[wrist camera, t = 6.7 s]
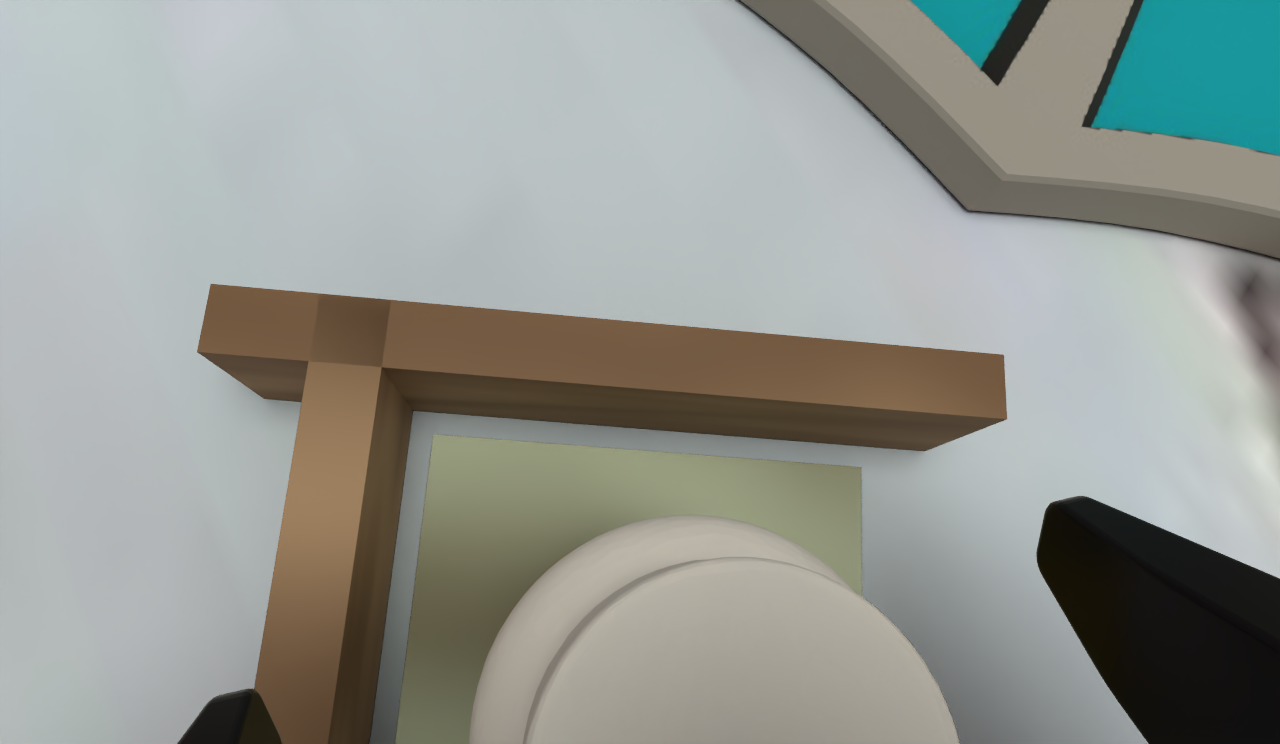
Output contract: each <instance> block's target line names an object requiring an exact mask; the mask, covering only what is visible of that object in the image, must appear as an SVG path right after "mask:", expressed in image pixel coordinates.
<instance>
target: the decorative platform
mask: <svg viewBox="0 0 1280 744" xmlns="http://www.w3.org/2000/svg"><path fill="white" fill-rule="evenodd" d="M740 1H742V2H743V3H744V4H746V5H747V6H748V7H750V8H751V9H752V10H754V11H755V12H756V13H758V14H759V15H760V16H761V17H763V18H764V19H765V20H767V21H768V22H769V23H770V24H772V25H773V26H774V27H775V28H777V29H778V30H779V31H781V32H782V33H783V34H784V35H786V36H787V37H788V38H790V39H791V40H792V41H793V42H795V43H796V44H797V45H798V46H799V47H800V48H802V49H803V50H804V51H805V52H806V53H808V54H809V55H810V56H811V57H812V58H814V59H815V60H816V61H817V62H818V63H820V64H821V65H822V66H823V67H824V68H826V69H827V70H828V71H829V72H830V73H831V74H832V75H833V76H835V77H836V78H837V79H838V80H839V81H840V82H841V83H842V84H843V85H844V86H845V87H846V88H848V89H849V90H850V91H851V92H852V93H853V94H854V95H855V96H856V97H857V98H858V99H859V100H861V101H862V102H863V103H864V104H865V105H866V106H867V107H868V108H869V109H870V110H871V111H872V112H873V113H874V114H875V115H876V116H877V117H878V118H879V119H880V120H881V121H882V122H883V123H884V124H885V125H886V126H887V127H888V128H889V129H890V130H891V131H892V132H893V133H894V134H895V135H896V136H897V137H898V138H899V139H900V140H901V141H902V142H903V143H904V144H905V145H906V146H907V147H908V148H909V149H910V150H911V151H912V152H913V153H914V154H915V155H916V156H917V157H918V158H919V159H920V160H921V161H922V163H923V164H924V165H925V166H926V167H927V168H928V169H929V170H930V171H931V172H932V173H933V174H934V175H935V176H936V177H937V178H938V179H939V180H940V181H941V182H942V183H943V185H944V186H945V187H946V188H947V189H948V190H949V191H950V192H951V193H952V194H953V195H954V196H955V197H956V198H957V199H958V200H959V201H960V203H961V204H962V205H963V206H964V207H965V208H966V209H967V210H972V211H986V212H999V213H1013V214H1025V215H1036V216H1048V217H1059V218H1069V219H1078V220H1087V221H1096V222H1104V223H1113V224H1119V225H1126V226H1132V227H1139V228H1146V229H1152V230H1158V231H1163V232H1168V233H1173V234H1178V235H1183V236H1188V237H1193V238H1198V239H1203V240H1207V241H1211V242H1216V243H1220V244H1224V245H1228V246H1232V247H1237V248H1241V249H1245V250H1249V251H1253V252H1257V253H1260V254H1264V255H1268V256H1272V257H1275V258H1279V259H1280V0H740Z"/></svg>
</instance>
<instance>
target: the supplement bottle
mask: <svg viewBox="0 0 1280 744" xmlns="http://www.w3.org/2000/svg"><path fill="white" fill-rule="evenodd" d="M469 744H960V742H959V738H958V735H957V731H956V727H955V724H954V722H953V719H952V717H951V714H950V711H949V709H948V706H947V703H946V701H945V699H944V697H943V694H942V692H941V690H940V688H939V685H938V684H937V682H936V680H935V679H934V677H933V676H932V674H931V673H930V671H929V669H928V667H927V665H926V663H925V662H924V660H923V659H922V658H921V656H920V655H919V654H918V652H917V651H916V649H915V648H914V647H913V645H912V644H911V643H910V641H909V640H908V639H907V638H906V637H905V636H904V635H903V634H902V632H901V631H900V630H899V629H898V628H897V627H896V626H895V625H894V624H893V623H892V622H891V621H890V620H889V619H888V618H887V617H886V616H885V615H884V614H883V613H882V612H881V611H880V610H879V609H877V608H876V607H875V606H873V605H872V604H871V603H869V602H868V601H867V600H865V599H864V598H863V597H861V596H860V595H858V594H857V593H855V592H854V591H853V589H852V588H851V587H850V586H849V585H848V584H847V583H846V582H845V581H844V580H843V579H842V578H841V577H840V576H839V575H838V574H837V573H836V572H835V571H834V570H833V569H831V568H830V567H829V566H828V565H826V564H825V563H824V562H823V561H822V560H820V559H819V558H818V557H816V556H815V555H813V554H812V553H810V552H809V551H807V550H806V549H804V548H802V547H801V546H799V545H798V544H796V543H794V542H792V541H790V540H788V539H787V538H785V537H783V536H781V535H778V534H776V533H774V532H772V531H770V530H767V529H764V528H762V527H759V526H756V525H753V524H749V523H746V522H743V521H738V520H734V519H729V518H722V517H715V516H705V515H674V516H664V517H657V518H651V519H646V520H641V521H638V522H634V523H630V524H627V525H624V526H622V527H619V528H616V529H613V530H610V531H608V532H606V533H603V534H601V535H599V536H597V537H595V538H593V539H592V540H590V541H588V542H586V543H585V544H583V545H581V546H580V547H578V548H576V549H575V550H573V551H572V552H570V553H569V554H567V555H566V556H564V557H563V558H561V559H560V560H559V561H558V562H557V563H555V564H554V565H553V566H552V567H550V568H549V569H548V570H547V571H546V572H545V573H544V574H543V575H542V576H541V577H540V578H539V579H538V580H537V581H536V582H535V583H534V584H533V585H532V586H531V587H530V588H529V590H528V591H527V592H526V593H525V594H524V595H523V597H522V598H521V599H520V601H519V602H518V603H517V605H516V606H515V607H514V609H513V610H512V611H511V613H510V614H509V616H508V618H507V619H506V621H505V622H504V624H503V626H502V627H501V629H500V631H499V632H498V634H497V636H496V638H495V641H494V643H493V645H492V647H491V649H490V651H489V653H488V655H487V658H486V661H485V663H484V667H483V670H482V674H481V677H480V680H479V683H478V686H477V691H476V695H475V700H474V704H473V710H472V717H471V725H470V735H469Z"/></svg>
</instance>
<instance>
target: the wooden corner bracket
mask: <svg viewBox="0 0 1280 744" xmlns="http://www.w3.org/2000/svg"><path fill="white" fill-rule="evenodd" d="M197 352H198V353H200V354H201V355H202V356H204V357H205V358H207V359H208V360H210V361H211V362H212V363H214V364H215V365H217V366H218V367H220V368H221V369H222V370H224V371H225V372H227V373H228V374H230V375H231V376H232V377H234V378H235V379H237V380H238V381H240V382H241V383H243V384H244V385H245V386H247V387H248V388H250V389H251V390H253V391H254V392H255V393H257V394H258V395H260V396H261V397H263V398H264V399H274V400H287V401H300V402H302V404H301V410H300V416H299V422H298V428H297V434H296V440H295V446H294V452H293V458H292V464H291V470H290V476H289V482H288V488H287V494H286V500H285V506H284V512H283V518H282V524H281V530H280V536H279V542H278V549H277V555H276V561H275V567H274V573H273V579H272V585H271V591H270V597H269V603H268V609H267V615H266V621H265V627H264V633H263V639H262V645H261V651H260V657H259V663H258V669H257V675H256V681H255V687H254V690H256V691H257V692H258V693H259V694H260V696H261V697H262V699H263V701H264V704H265V706H266V708H267V710H268V712H269V714H270V716H271V718H272V720H273V723H274V725H275V727H276V729H277V731H278V733H279V735H280V738H281V741H282V744H369V742H370V735H371V727H372V720H373V712H374V704H375V697H376V689H377V681H378V674H379V666H380V659H381V651H382V643H383V636H384V628H385V621H386V613H387V605H388V598H389V590H390V582H391V575H392V567H393V560H394V552H395V544H396V537H397V529H398V521H399V514H400V506H401V499H402V491H403V483H404V476H405V468H406V461H407V453H408V445H409V438H410V430H411V422H412V415H413V411H426V412H438V413H451V414H464V415H476V416H489V417H501V418H514V419H527V420H539V421H552V422H564V423H577V424H590V425H602V426H615V427H628V428H640V429H653V430H665V431H678V432H691V433H703V434H716V435H728V436H741V437H754V438H766V439H779V440H792V441H804V442H817V443H829V444H842V445H855V446H867V447H880V448H892V449H905V450H918V451H926V450H929V449H932V448H934V447H937V446H939V445H942V444H944V443H947V442H950V441H952V440H955V439H957V438H960V437H962V436H965V435H968V434H970V433H973V432H975V431H978V430H980V429H983V428H986V427H988V426H991V425H993V424H996V423H998V422H1001V421H1004V420H1006V419H1007V411H1006V391H1005V371H1004V355H999V354H988V353H977V352H966V351H955V350H943V349H932V348H921V347H910V346H899V345H888V344H876V343H865V342H854V341H843V340H832V339H821V338H809V337H798V336H787V335H776V334H765V333H754V332H742V331H731V330H720V329H709V328H698V327H686V326H675V325H664V324H653V323H642V322H631V321H619V320H608V319H597V318H586V317H575V316H564V315H552V314H541V313H530V312H519V311H508V310H497V309H485V308H474V307H463V306H452V305H441V304H429V303H418V302H407V301H396V300H385V299H374V298H362V297H351V296H340V295H329V294H318V293H307V292H295V291H284V290H273V289H262V288H251V287H240V286H228V285H217V284H211V286H210V291H209V296H208V301H207V306H206V311H205V316H204V321H203V326H202V330H201V335H200V340H199V345H198V350H197ZM674 515H705V516H715V517H722V518H729V519H734V520H738V521H743V522H746V523H749V524H753V525H756V526H759V527H762V528H764V529H767V530H770V531H772V532H774V533H776V534H778V535H781V536H783V537H785V538H787V539H788V540H790V541H792V542H794V543H796V544H798V545H799V546H801V547H802V548H804V549H806V550H807V551H809V552H810V553H812V554H813V555H815V556H816V557H818V558H819V559H820V560H822V561H823V562H824V563H825V564H826V565H828V566H829V567H830V568H831V569H833V570H834V571H835V572H836V573H837V574H838V575H839V576H840V577H841V578H842V579H843V580H844V581H845V582H846V583H847V584H848V585H849V586H850V587H851V588H852V589H853V591H854V592H855V593H857V594H858V595H860V596H861V597H862V474H861V467H850V466H837V465H824V464H812V463H799V462H786V461H773V460H760V459H747V458H734V457H721V456H708V455H695V454H682V453H669V452H656V451H643V450H630V449H617V448H604V447H591V446H578V445H565V444H552V443H539V442H526V441H513V440H501V439H488V438H475V437H462V436H449V435H436V434H433V441H432V449H431V457H430V465H429V473H428V481H427V489H426V497H425V505H424V513H423V521H422V529H421V537H420V545H419V553H418V561H417V569H416V578H415V586H414V594H413V602H412V610H411V618H410V626H409V634H408V642H407V650H406V658H405V666H404V674H403V682H402V690H401V698H400V706H399V714H398V723H397V731H396V739H395V744H469V735H470V725H471V717H472V710H473V704H474V700H475V695H476V691H477V686H478V683H479V680H480V677H481V674H482V670H483V667H484V663H485V661H486V658H487V655H488V653H489V651H490V649H491V647H492V645H493V643H494V641H495V638H496V636H497V634H498V632H499V631H500V629H501V627H502V626H503V624H504V622H505V621H506V619H507V618H508V616H509V614H510V613H511V611H512V610H513V609H514V607H515V606H516V605H517V603H518V602H519V601H520V599H521V598H522V597H523V595H524V594H525V593H526V592H527V591H528V590H529V588H530V587H531V586H532V585H533V584H534V583H535V582H536V581H537V580H538V579H539V578H540V577H541V576H542V575H543V574H544V573H545V572H546V571H547V570H548V569H549V568H550V567H552V566H553V565H554V564H555V563H557V562H558V561H559V560H560V559H561V558H563V557H564V556H566V555H567V554H569V553H570V552H572V551H573V550H575V549H576V548H578V547H580V546H581V545H583V544H585V543H586V542H588V541H590V540H592V539H593V538H595V537H597V536H599V535H601V534H603V533H606V532H608V531H610V530H613V529H616V528H619V527H622V526H624V525H627V524H630V523H634V522H638V521H641V520H646V519H651V518H657V517H664V516H674Z"/></svg>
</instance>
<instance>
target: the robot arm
mask: <svg viewBox="0 0 1280 744" xmlns="http://www.w3.org/2000/svg"><path fill="white" fill-rule="evenodd" d="M1037 563H1038V567H1039V570H1040V572H1041V574H1042V576H1043V578H1044V580H1045V581H1046V583H1047V585H1048V586H1049V588H1050V590H1051V592H1052V593H1053V595H1054V597H1055V598H1056V600H1057V602H1058V603H1059V605H1060V607H1061V609H1062V610H1063V612H1064V614H1065V615H1066V617H1067V619H1068V621H1069V622H1070V624H1071V626H1072V627H1073V629H1074V631H1075V633H1076V634H1077V636H1078V638H1079V639H1080V641H1081V643H1082V645H1083V646H1084V648H1085V650H1086V651H1087V653H1088V655H1089V657H1090V658H1091V660H1092V662H1093V663H1094V665H1095V667H1096V668H1097V670H1098V672H1099V673H1100V675H1101V676H1102V678H1103V680H1104V681H1105V683H1106V684H1107V686H1108V687H1109V689H1110V690H1111V692H1112V693H1113V695H1114V696H1115V698H1116V699H1117V700H1118V702H1119V703H1120V705H1121V706H1122V708H1123V709H1124V710H1125V712H1126V713H1127V714H1128V716H1129V717H1130V719H1131V720H1132V721H1133V723H1134V724H1135V725H1136V727H1137V728H1138V730H1139V731H1140V732H1141V734H1142V735H1143V736H1144V738H1145V739H1146V741H1147V742H1148V743H1149V744H1280V579H1279V578H1277V577H1275V576H1272V575H1270V574H1268V573H1265V572H1263V571H1261V570H1258V569H1256V568H1254V567H1251V566H1249V565H1246V564H1244V563H1242V562H1239V561H1237V560H1235V559H1232V558H1230V557H1228V556H1225V555H1223V554H1221V553H1218V552H1216V551H1214V550H1211V549H1209V548H1207V547H1204V546H1202V545H1200V544H1197V543H1195V542H1192V541H1190V540H1188V539H1185V538H1183V537H1181V536H1178V535H1176V534H1174V533H1171V532H1169V531H1167V530H1164V529H1162V528H1160V527H1157V526H1155V525H1153V524H1150V523H1148V522H1145V521H1143V520H1141V519H1138V518H1136V517H1134V516H1131V515H1129V514H1127V513H1124V512H1122V511H1120V510H1117V509H1115V508H1113V507H1110V506H1108V505H1106V504H1103V503H1101V502H1099V501H1096V500H1094V499H1091V498H1089V497H1085V496H1076V497H1072V498H1067V499H1063V500H1059V501H1054V502H1052V503H1050V505H1049V506H1048V507H1047V508H1046V511H1045V514H1044V519H1043V524H1042V529H1041V533H1040V538H1039V543H1038V547H1037ZM177 744H282V741H281V738H280V735H279V733H278V731H277V729H276V727H275V725H274V723H273V720H272V718H271V716H270V714H269V712H268V710H267V708H266V706H265V704H264V701H263V699H262V697H261V696H260V694H259V693H258V692H257V691H256V690H254V689H245V690H240V691H236V692H232V693H227V694H223V695H219V696H216V697H214V698H213V699H212V700H211V701H209V702H208V703H207V705H206V706H205V707H204V708H203V710H202V711H201V712H200V714H199V715H198V717H197V718H196V719H195V721H194V722H193V723H192V725H191V726H190V727H189V729H188V730H187V731H186V733H185V734H184V735H183V737H182V738H181V739H180V741H179V742H178V743H177Z"/></svg>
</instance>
